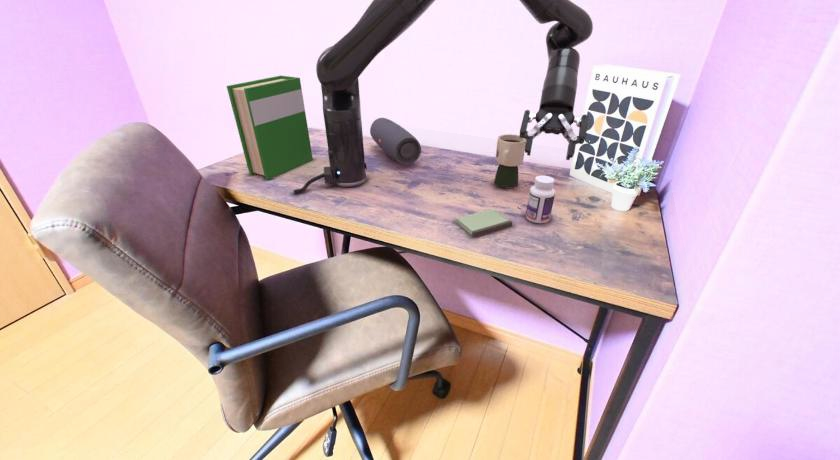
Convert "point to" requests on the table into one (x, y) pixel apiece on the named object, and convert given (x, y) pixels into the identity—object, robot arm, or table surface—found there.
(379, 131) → the bluetooth speaker
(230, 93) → the hardback book
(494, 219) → the notebook
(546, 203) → the pill bottle
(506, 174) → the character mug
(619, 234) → the table surface
